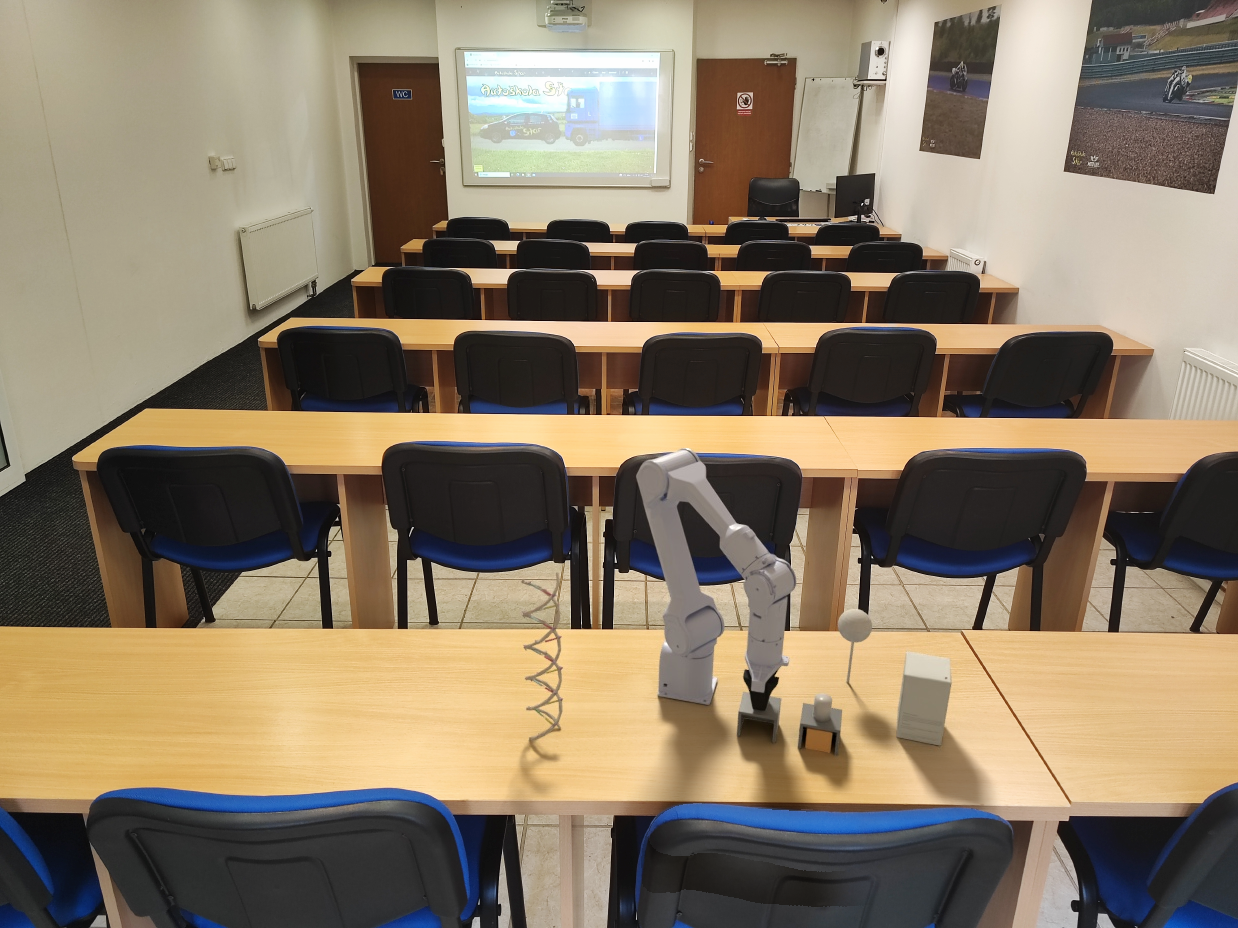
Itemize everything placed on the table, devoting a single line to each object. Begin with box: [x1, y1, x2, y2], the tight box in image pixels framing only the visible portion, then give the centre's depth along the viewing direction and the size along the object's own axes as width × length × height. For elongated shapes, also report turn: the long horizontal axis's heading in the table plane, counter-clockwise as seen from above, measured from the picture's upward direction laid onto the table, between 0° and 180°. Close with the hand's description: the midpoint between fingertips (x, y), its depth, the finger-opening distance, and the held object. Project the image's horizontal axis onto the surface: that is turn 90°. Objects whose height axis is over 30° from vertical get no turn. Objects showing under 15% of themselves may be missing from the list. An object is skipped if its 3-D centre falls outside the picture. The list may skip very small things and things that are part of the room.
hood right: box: [797, 692, 843, 756], centre depth 145 cm, size 6×6×8 cm
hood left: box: [736, 691, 782, 744], centre depth 147 cm, size 6×6×8 cm
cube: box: [804, 727, 833, 753], centre depth 145 cm, size 4×4×4 cm
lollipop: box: [837, 608, 873, 684], centre depth 158 cm, size 6×6×15 cm
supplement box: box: [896, 651, 953, 746], centre depth 147 cm, size 7×7×13 cm
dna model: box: [520, 571, 564, 741], centre depth 142 cm, size 7×6×30 cm
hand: (760, 702), depth 147 cm, fingers closed on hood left, 3 cm apart
